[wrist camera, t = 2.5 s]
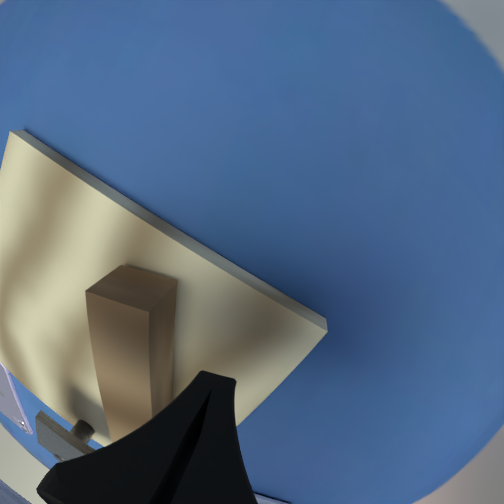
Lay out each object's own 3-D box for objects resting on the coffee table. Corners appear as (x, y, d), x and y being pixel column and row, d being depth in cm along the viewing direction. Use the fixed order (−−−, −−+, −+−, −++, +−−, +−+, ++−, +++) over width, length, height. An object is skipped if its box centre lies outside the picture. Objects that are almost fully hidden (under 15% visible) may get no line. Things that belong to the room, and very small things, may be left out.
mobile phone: (3, 366, 21) (32, 438, 27) (8, 362, 22) (36, 434, 27) (-33, 334, 22) (-3, 410, 27) (-28, 330, 23) (1, 406, 28)
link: (180, 473, 20) (170, 500, 17) (131, 456, 20) (118, 481, 17) (192, 283, 13) (166, 317, 11) (109, 261, 14) (72, 285, 11)
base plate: (326, 318, 15) (327, 331, 13) (173, 473, 22) (170, 482, 21) (23, 130, 14) (10, 130, 13) (1, 349, 21) (-6, 355, 20)
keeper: (178, 450, 19) (157, 499, 14) (155, 472, 21) (138, 512, 16) (67, 380, 18) (32, 419, 14) (63, 414, 20) (36, 448, 16)
